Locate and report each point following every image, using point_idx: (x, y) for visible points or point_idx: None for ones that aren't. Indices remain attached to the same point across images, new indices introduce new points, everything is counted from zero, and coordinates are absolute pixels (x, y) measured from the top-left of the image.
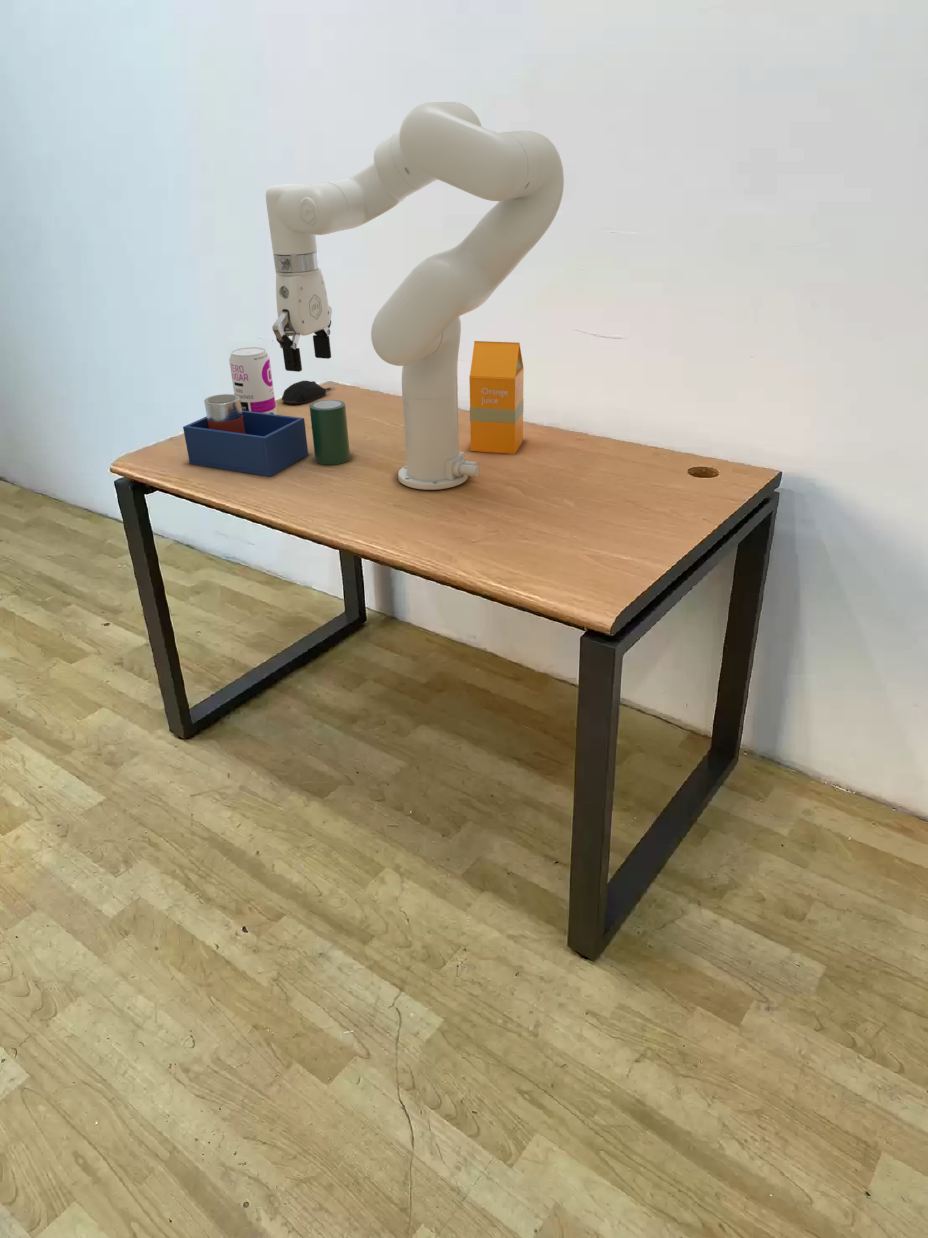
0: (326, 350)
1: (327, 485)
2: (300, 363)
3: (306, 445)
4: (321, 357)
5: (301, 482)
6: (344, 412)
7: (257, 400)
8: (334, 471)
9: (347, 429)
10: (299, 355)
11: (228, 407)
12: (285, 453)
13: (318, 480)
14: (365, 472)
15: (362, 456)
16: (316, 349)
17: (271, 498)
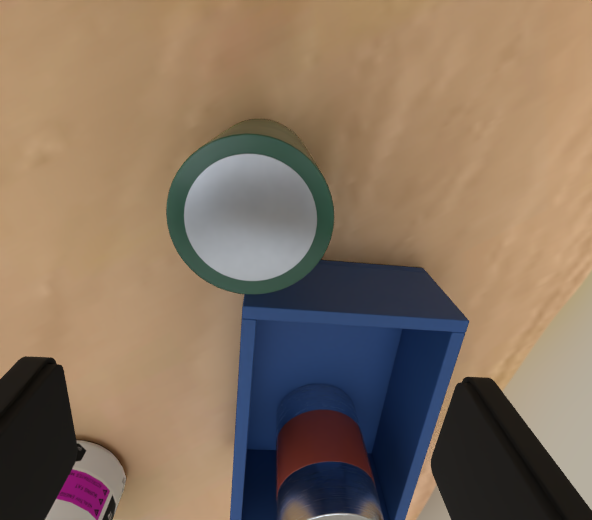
0: (26, 420)
1: (465, 86)
2: (507, 415)
3: None
4: (69, 416)
5: (450, 172)
6: (245, 130)
7: (81, 512)
8: (354, 119)
9: (227, 130)
10: (553, 478)
11: (369, 506)
12: (358, 277)
13: (430, 132)
14: (342, 9)
15: (209, 90)
16: (43, 501)
17: (563, 193)
